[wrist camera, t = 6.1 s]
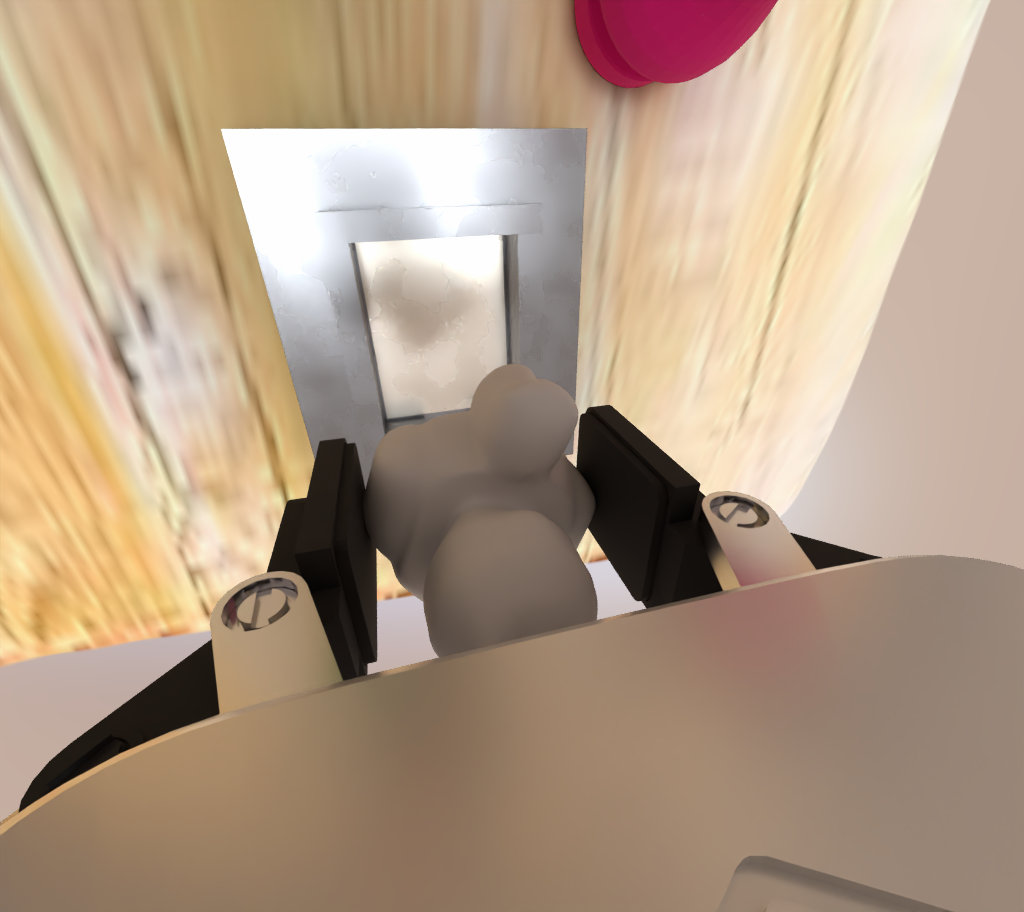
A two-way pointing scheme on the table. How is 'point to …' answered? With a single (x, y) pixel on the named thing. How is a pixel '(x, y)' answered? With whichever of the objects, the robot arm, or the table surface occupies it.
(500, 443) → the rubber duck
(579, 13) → the pepper mill
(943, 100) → the table surface
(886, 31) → the table surface
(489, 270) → the plate
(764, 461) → the table surface
